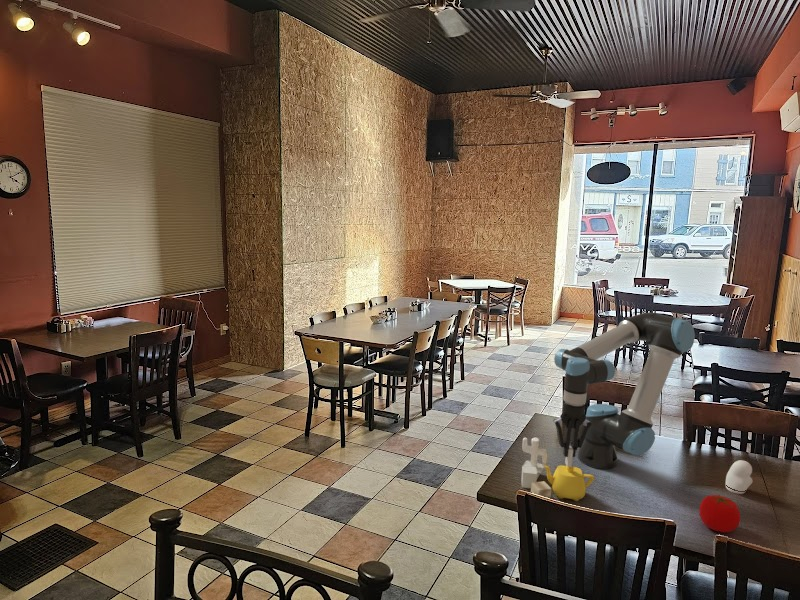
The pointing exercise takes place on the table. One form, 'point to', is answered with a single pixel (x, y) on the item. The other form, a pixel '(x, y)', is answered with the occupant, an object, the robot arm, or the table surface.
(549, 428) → the table surface
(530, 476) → the white block
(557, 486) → the teapot
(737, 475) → the white mitten
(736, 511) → the tomato
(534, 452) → the figurine
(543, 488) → the beech block
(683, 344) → the robot arm
